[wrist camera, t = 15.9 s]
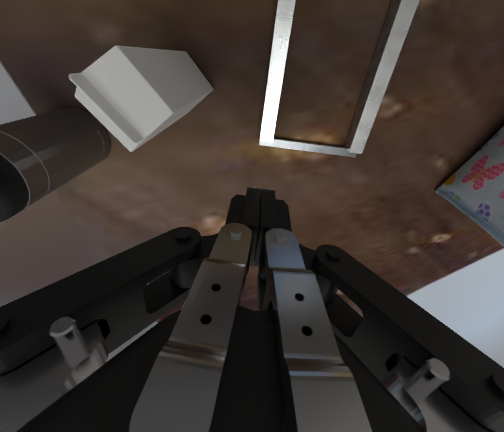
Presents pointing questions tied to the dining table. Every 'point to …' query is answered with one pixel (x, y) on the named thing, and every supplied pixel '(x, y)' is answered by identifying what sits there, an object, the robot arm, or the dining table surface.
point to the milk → (140, 91)
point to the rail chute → (372, 91)
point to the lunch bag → (481, 187)
